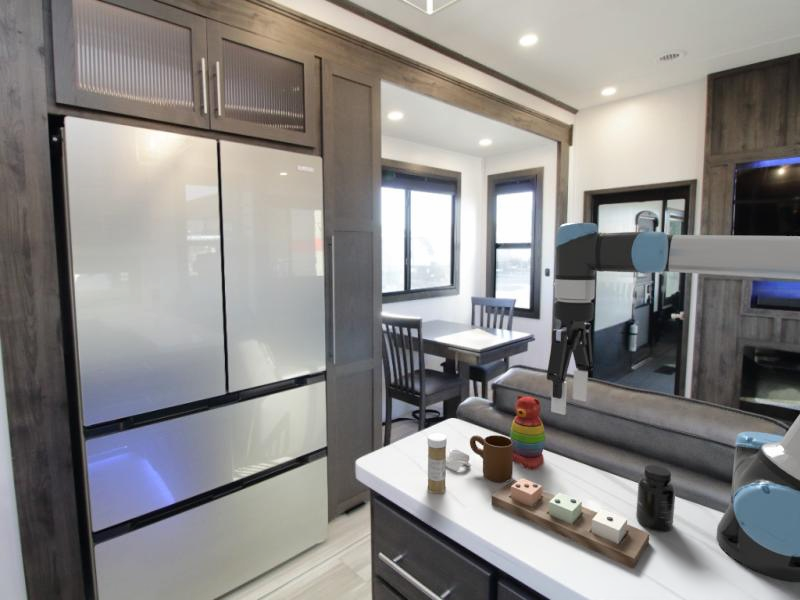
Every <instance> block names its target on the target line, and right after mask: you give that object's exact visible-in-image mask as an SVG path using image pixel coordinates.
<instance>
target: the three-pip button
mask: <svg viewBox="0 0 800 600" xmlns="http://www.w3.org/2000/svg"><path fill="white" fill-rule="evenodd" d="M517 481H518V482H516V483H515V484H514V485H512V486H511V498H512V499H514V500H516V501H519V502H521V503H523V504H526V505H528V506H530V507H533V506H534V505H535V504H536V503H537V502H538V501H539V500H540V499H541V498H542V491H543V485H540V484H539V483H535V482H533V481H530V480H528V479H525V478H523V477H522V478H520V479H519V480H517Z"/></svg>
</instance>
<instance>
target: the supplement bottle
mask: <svg viewBox="0 0 800 600" xmlns="http://www.w3.org/2000/svg"><path fill="white" fill-rule="evenodd" d="M675 503H676V488H675V486H674V484H673V483H672V472H671V471H670V469H668V468H666V467H664V466H661V465H658V464H648V465H646V466H645V467H644V473H643V476H642V477H640V478H639V481H638V483H637V498H636V513H635V515H636V519H637V522H638V523H640V524H641V525H642V526H643V527H645V528H647V529H649V530H652V531H655V532H664V533H665V532H668V531H671V530H672V528H673V526H674V513H675Z"/></svg>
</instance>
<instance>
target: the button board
mask: <svg viewBox="0 0 800 600" xmlns="http://www.w3.org/2000/svg"><path fill="white" fill-rule="evenodd" d="M518 481H519V480H516V479H515V478H514V479H512V480H510V481H509V482H508V483H507V484H505V485H503V487H501V488H500V489H499V490H497V491H495V492H494V494H492V495H491V505H493V506H495V507H498V508H499V509H502V510H504V511H506V512H508V513H511V514H514V515H515V516H517V517H520V518H522V519H524V520H526V521H528V522H529V523H530V522H531V523H532V524H535V525H537V526H538V527H541V528H544V529H546V530H548V531H550V532H552V533H554V534H557V535H560V537H561V536H562V537H564V538H566V539H568V540H570V541H572V542H575V543H577V544H578V545H581V546H583V547H585V548H587V549H589V550H592V551H594V552H597V553H598V554H601V555H602V556H606V557H608V558H609V559H612V560H614V561H616V562H618V563H620V564H622V565H625V566H627V567H629V568H631V569H635V567H636V565H637V563H639V560H640V559H641V557H642V555H643V553H644V551H645V550H646V548H647V546H648V545H649V543H650V533H649V532H647V531H645V530H643V529H640V528H638V527H635V526H633V525H630V524H628V523H627V531H626V534H625V536H624V537H623V539H622V540H621V542H620V543H619V544H616V543H614V542H612V541H609V540H607V539H605V538H602V537H600V536H598V535H595V534H593V533H592V519H593V518H594V517H595V516H596V514H597V513H598V512H597V511H594V510H592V509H590V508H587V507H584V506H582V507H581V515H580V516H579V517H578V519H577V520H576V521H575V522H574V523H573V524H570V523H567V522H565V521H563V520H560V519H558V518H556V517H554V516H551V515H549V501H550V500H551V499H553V498H554V497H555V496H556V495H554V494H551V493H549V492H546V491H544V490H542V498H541V499H540V500H539V501H538V502H537V503H536V504H535V505H533V506H532V507H530V506H528V505H526V504H523V503H521V502H519V501H516V500H514V499H512V498H511V486H512V485H514V484H515V483H516V482H518Z"/></svg>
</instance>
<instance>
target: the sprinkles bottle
mask: <svg viewBox="0 0 800 600" xmlns="http://www.w3.org/2000/svg"><path fill="white" fill-rule="evenodd" d="M447 445H448V444H447V436H446V435H445V434H443V433H432V434H429V435H428V436H427V447H428V448H427V449H428V451H427V453H428V454H427V490H428V491H429V492H430V493H432V494H436V495H437V494H442V493H444V492H445V491H446V488H447V487H446V476H447V474H446V473H447V466H446V455H447V452H446V451H447V449H446V448H447Z"/></svg>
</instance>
